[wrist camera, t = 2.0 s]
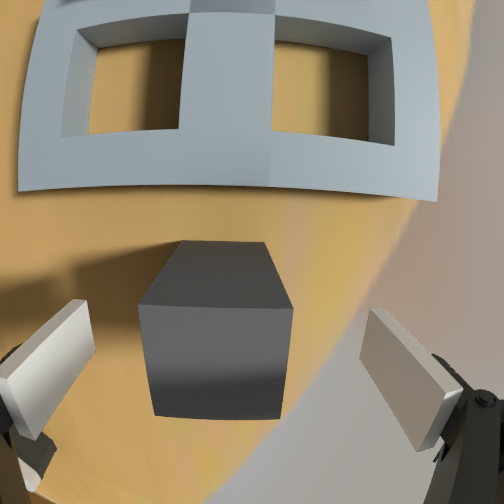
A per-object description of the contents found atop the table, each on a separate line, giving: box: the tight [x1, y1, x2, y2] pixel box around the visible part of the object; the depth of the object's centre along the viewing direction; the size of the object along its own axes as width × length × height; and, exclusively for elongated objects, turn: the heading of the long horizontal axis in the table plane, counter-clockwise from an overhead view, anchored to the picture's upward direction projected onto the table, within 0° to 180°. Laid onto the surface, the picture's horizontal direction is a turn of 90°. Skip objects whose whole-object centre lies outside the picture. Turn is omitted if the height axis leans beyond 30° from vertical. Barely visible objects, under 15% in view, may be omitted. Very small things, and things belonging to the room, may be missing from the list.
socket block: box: [18, 0, 440, 202], centre depth 13 cm, size 24×14×7 cm, turn 88°
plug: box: [138, 240, 293, 420], centre depth 15 cm, size 5×5×10 cm
